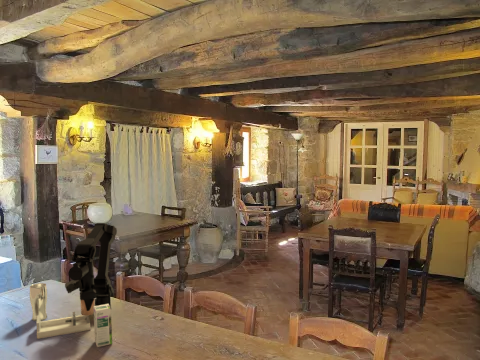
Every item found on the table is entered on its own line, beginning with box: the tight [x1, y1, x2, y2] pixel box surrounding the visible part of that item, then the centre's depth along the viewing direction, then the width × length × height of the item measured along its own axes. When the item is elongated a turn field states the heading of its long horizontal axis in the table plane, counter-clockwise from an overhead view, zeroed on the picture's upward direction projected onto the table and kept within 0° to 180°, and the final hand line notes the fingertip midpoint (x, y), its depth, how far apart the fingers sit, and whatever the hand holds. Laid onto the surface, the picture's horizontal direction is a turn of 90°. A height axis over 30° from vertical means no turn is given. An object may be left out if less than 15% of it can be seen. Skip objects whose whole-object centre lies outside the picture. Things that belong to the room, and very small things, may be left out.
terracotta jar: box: [80, 300, 95, 316], centre depth 177 cm, size 6×6×8 cm
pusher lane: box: [36, 314, 91, 340], centre depth 173 cm, size 20×11×6 cm, turn 113°
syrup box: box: [93, 304, 113, 348], centre depth 161 cm, size 6×6×14 cm
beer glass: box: [29, 282, 48, 322], centre depth 183 cm, size 7×7×15 cm
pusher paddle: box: [65, 311, 76, 326], centre depth 174 cm, size 4×8×4 cm, turn 23°
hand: (87, 308), depth 177 cm, fingers closed on terracotta jar, 5 cm apart
